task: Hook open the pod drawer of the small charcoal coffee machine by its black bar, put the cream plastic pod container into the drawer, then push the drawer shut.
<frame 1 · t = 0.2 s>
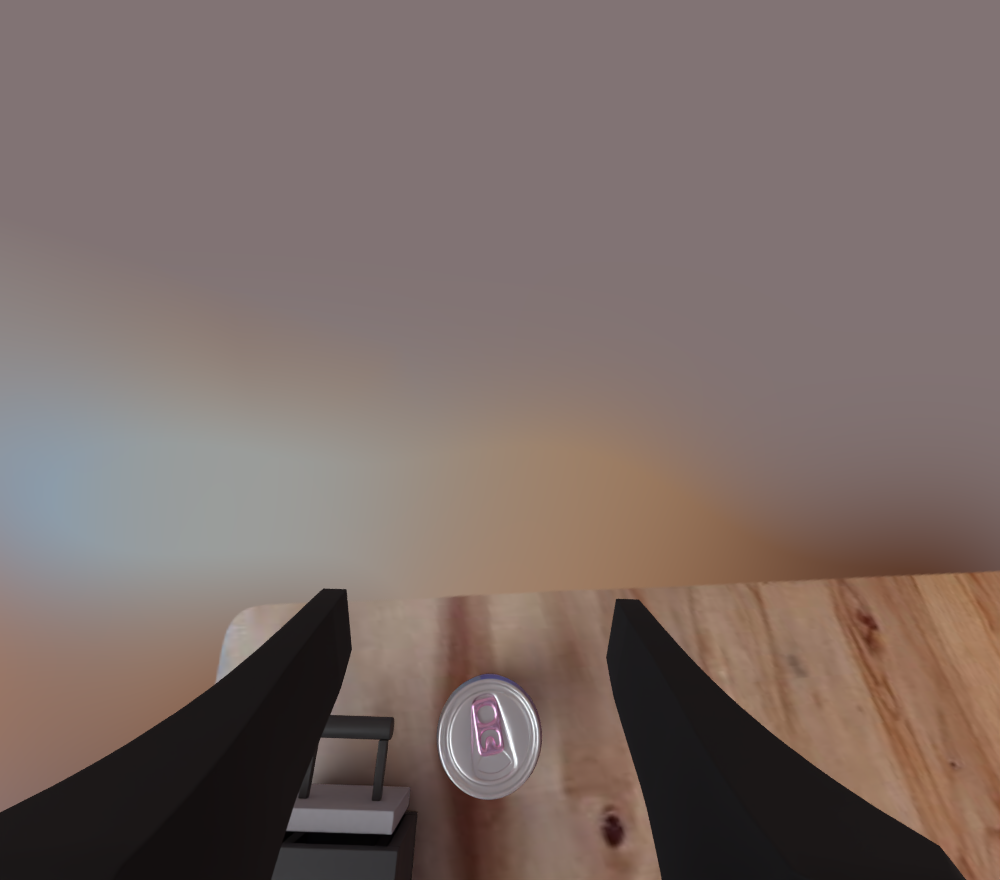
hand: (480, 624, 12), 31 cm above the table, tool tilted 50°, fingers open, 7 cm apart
drawer: (335, 847, 31), point 4 cm above the table, slide at 0.5 cm
beverage can: (488, 713, 39), on the table
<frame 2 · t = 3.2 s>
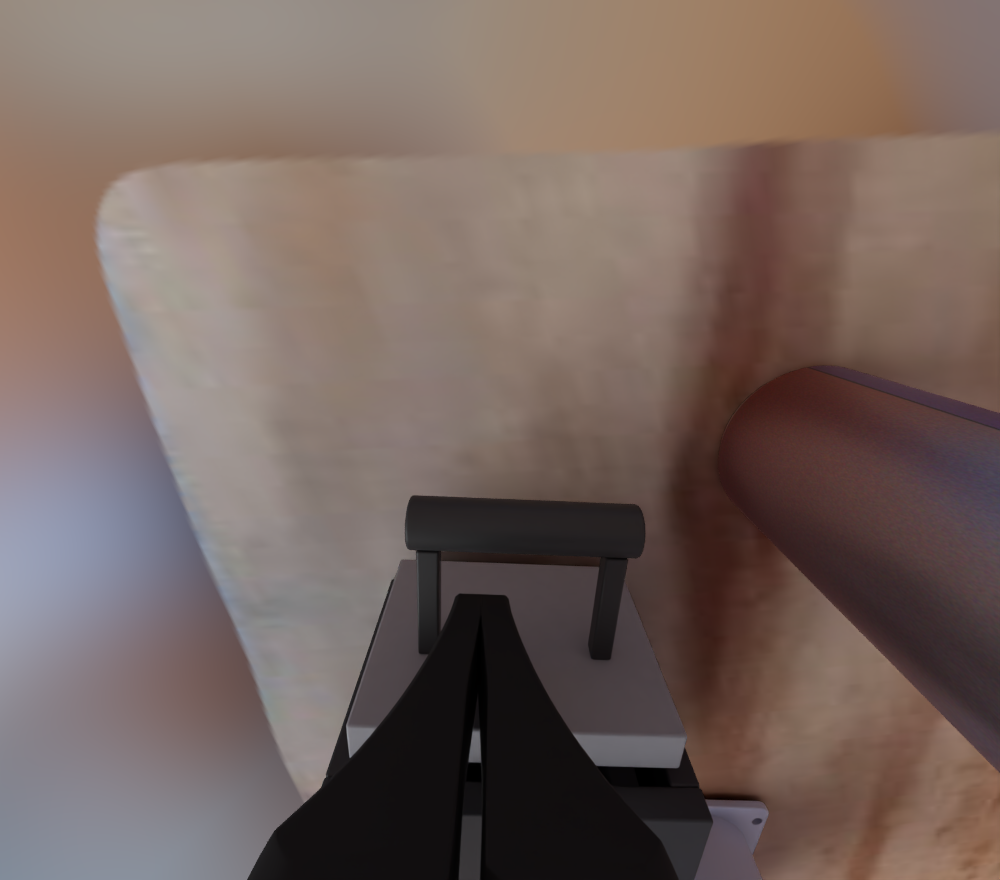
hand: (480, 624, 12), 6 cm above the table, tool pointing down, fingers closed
drawer: (509, 694, 15), point 4 cm above the table, slide at 0.4 cm
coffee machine: (501, 687, 21), on the table
beverage can: (788, 440, 17), on the table
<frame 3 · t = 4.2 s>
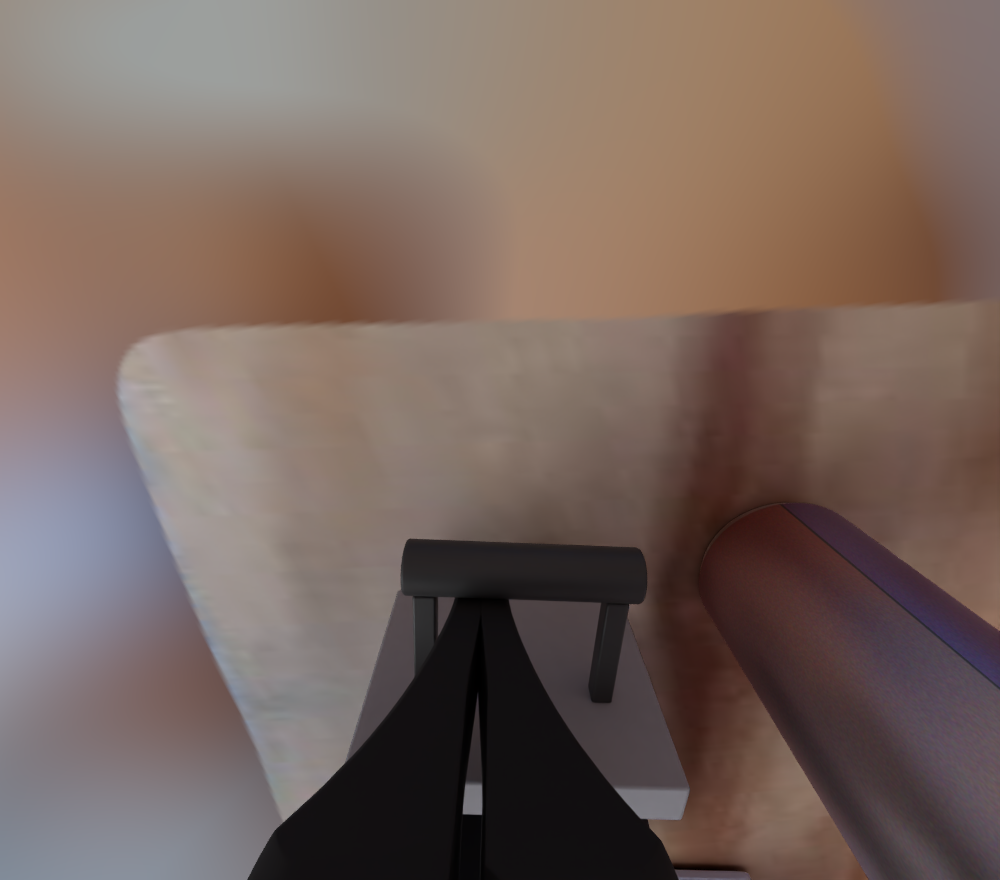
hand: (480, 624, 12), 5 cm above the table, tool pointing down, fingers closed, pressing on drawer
drawer: (507, 732, 15), point 4 cm above the table, slide at 4.3 cm, touching gripper
beverage can: (765, 558, 18), on the table
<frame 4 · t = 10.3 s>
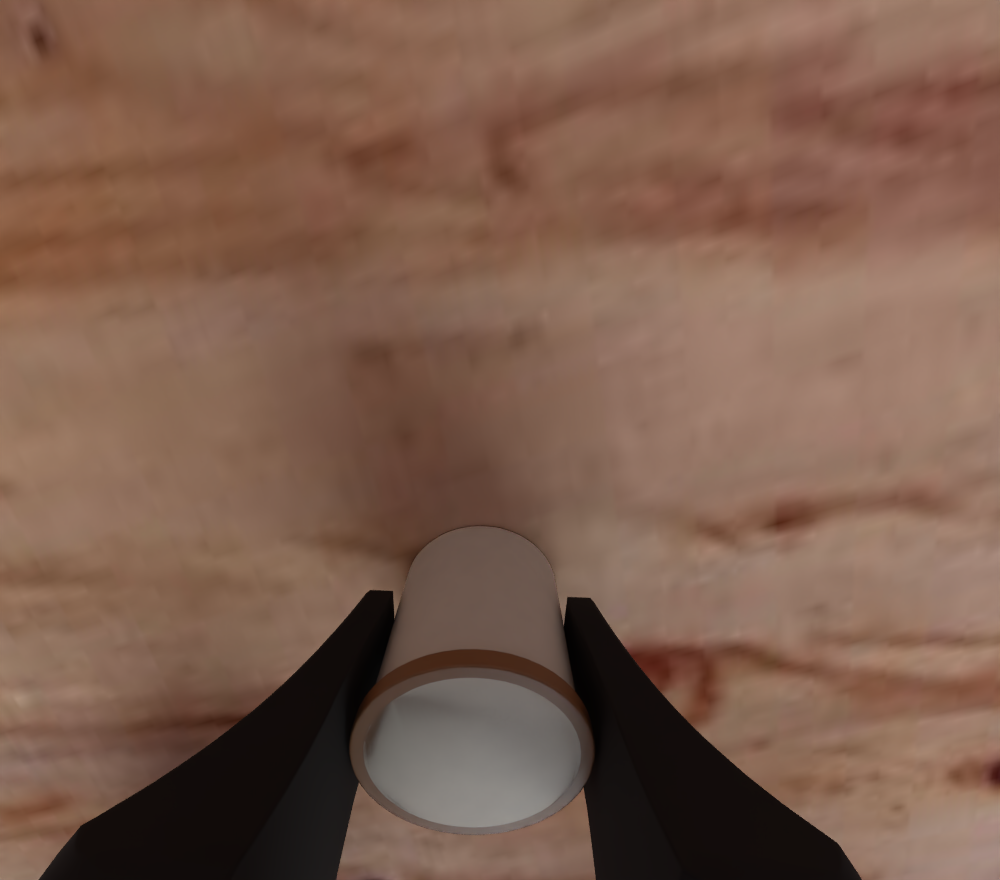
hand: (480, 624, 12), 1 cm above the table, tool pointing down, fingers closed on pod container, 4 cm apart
pod container: (481, 589, 14), on the table, touching gripper
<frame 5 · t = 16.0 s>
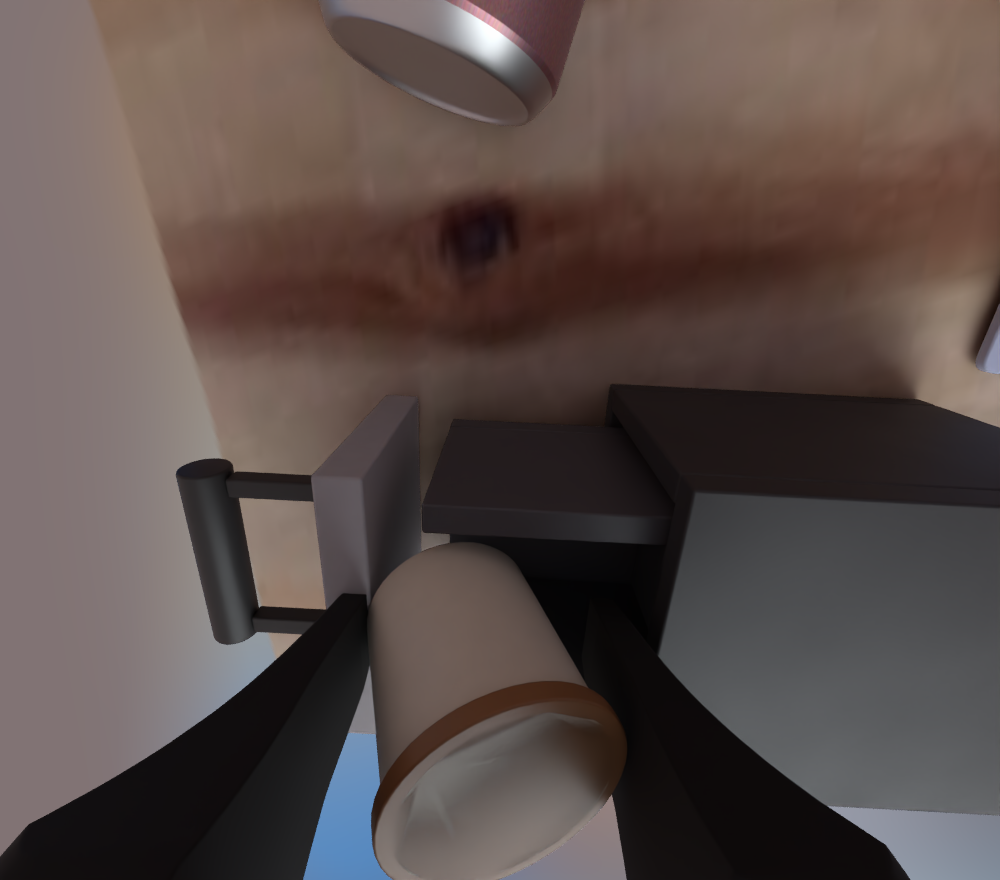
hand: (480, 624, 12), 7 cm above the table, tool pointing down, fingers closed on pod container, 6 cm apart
drawer: (450, 550, 15), point 4 cm above the table, slide at 7.1 cm, touching gripper, pod container
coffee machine: (734, 503, 19), on the table
pod container: (449, 609, 13), point 7 cm above the table, tilted 20°, touching drawer, gripper
beverage can: (432, 89, 12), point 3 cm above the table
when the fingers open (7 cm above the table, at t = 16.8 s): pod container stays where it is and tips over, resting on drawer.
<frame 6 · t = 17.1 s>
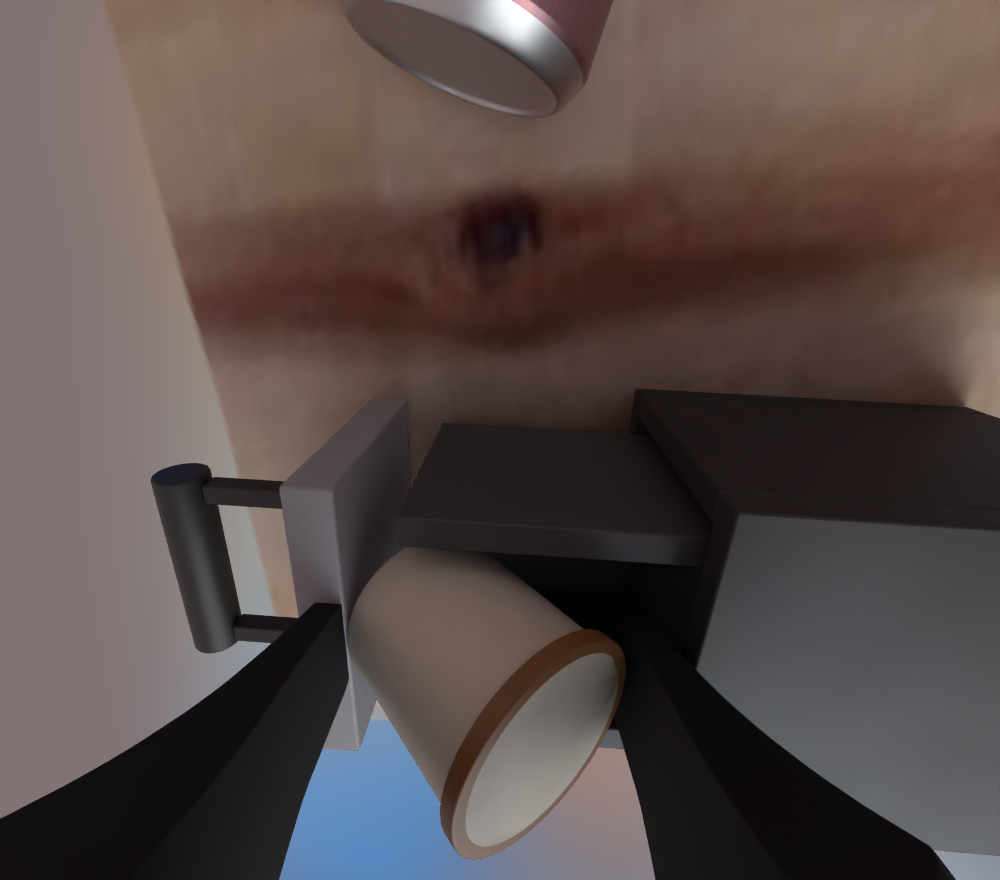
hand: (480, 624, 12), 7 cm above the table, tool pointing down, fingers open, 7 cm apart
drawer: (436, 559, 15), point 4 cm above the table, slide at 8.1 cm, touching gripper, pod container
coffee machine: (764, 514, 18), on the table
pod container: (423, 604, 13), point 6 cm above the table, tilted 42°, touching drawer
beverage can: (454, 78, 11), point 3 cm above the table
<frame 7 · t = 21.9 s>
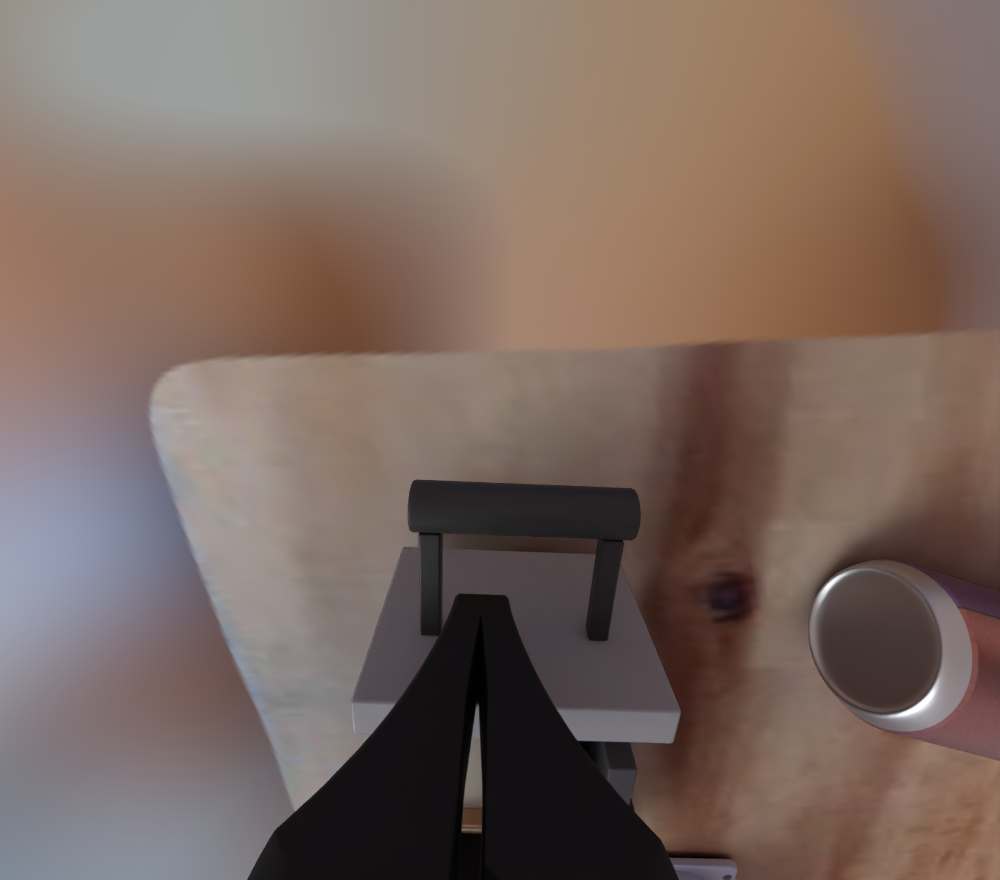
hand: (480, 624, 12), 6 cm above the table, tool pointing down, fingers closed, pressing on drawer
drawer: (508, 677, 16), point 4 cm above the table, slide at 6.6 cm, touching gripper, pod container
pod container: (505, 654, 17), point 3 cm above the table, tilted 27°, touching drawer
beverage can: (861, 634, 17), point 3 cm above the table
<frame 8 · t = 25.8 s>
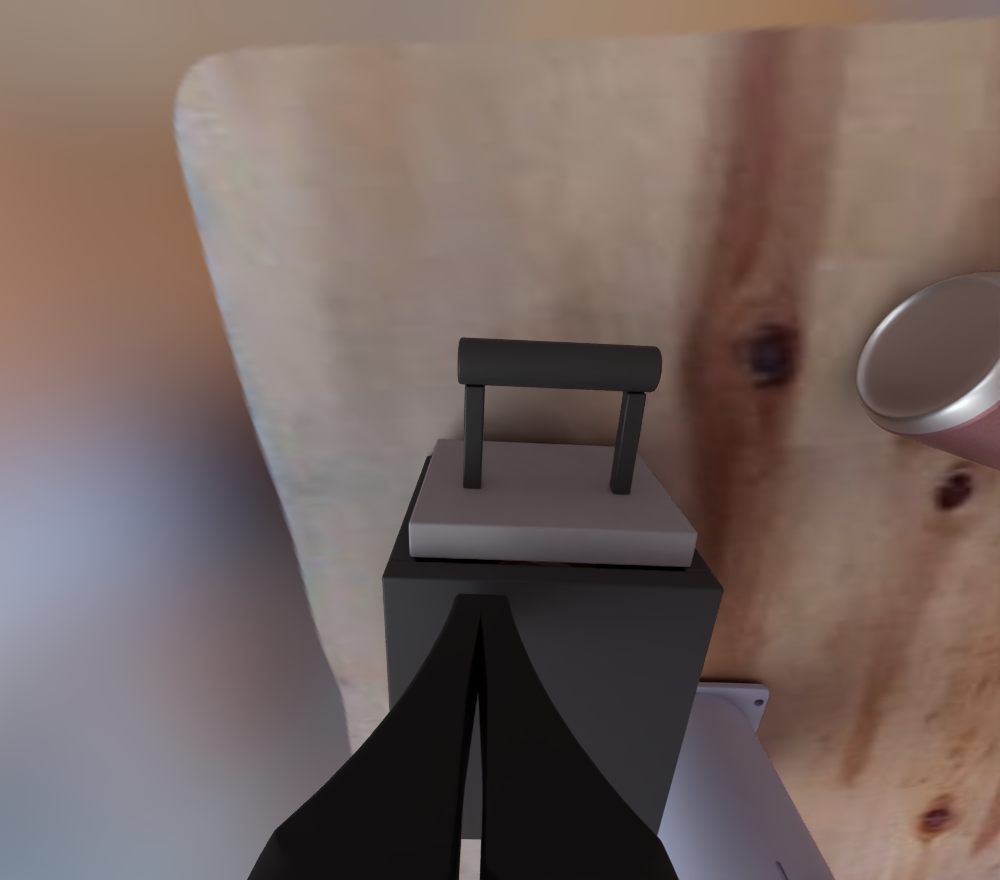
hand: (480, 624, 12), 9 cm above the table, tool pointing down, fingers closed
drawer: (537, 544, 17), point 4 cm above the table, slide at 0.0 cm, touching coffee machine, pod container
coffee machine: (524, 566, 23), on the table
pod container: (530, 526, 20), point 2 cm above the table, touching drawer
beverage can: (917, 348, 16), point 3 cm above the table
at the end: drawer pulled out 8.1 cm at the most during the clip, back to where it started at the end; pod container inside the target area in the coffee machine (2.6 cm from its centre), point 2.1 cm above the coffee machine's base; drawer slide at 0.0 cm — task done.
